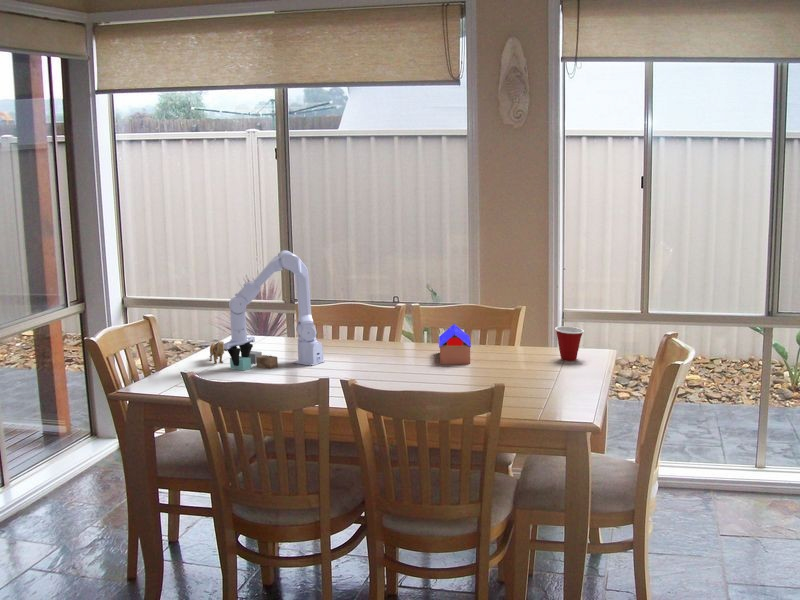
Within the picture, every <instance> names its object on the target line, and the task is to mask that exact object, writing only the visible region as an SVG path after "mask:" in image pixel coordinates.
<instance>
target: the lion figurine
mask: <svg viewBox="0 0 800 600" xmlns="http://www.w3.org/2000/svg"><path fill="white" fill-rule="evenodd" d="M224 344H225V342H224V341H218V342H216V343H212V344H210V347H209V362H213V365H218V359H219V363H220V364H224V361H223V360H222V359H223V355H224V354H225V352H228V351H227V349H224Z"/></svg>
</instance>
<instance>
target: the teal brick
mask: <svg viewBox="0 0 800 600" xmlns="http://www.w3.org/2000/svg"><path fill="white" fill-rule="evenodd" d="M229 365H230V369H232V370H236V371H237V370H239V371H243V372H244V371H247V370H250V369H252V363H251V358H247V357H241V355H239V366H235V365H234V364H233V361H232V358H231V357H230V358H229Z"/></svg>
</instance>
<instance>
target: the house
mask: <svg viewBox="0 0 800 600" xmlns="http://www.w3.org/2000/svg"><path fill="white" fill-rule="evenodd" d="M438 348H439V360H440V361H439V364H440V365H462V364H463V365H464V364H465V365H468V364H469V365H470V364H471V348H472V345H471V339H470V335H468V334H467V333H466V332H465V331H464V330H463V329H461V328H460V327H459V326H458V325H456V324H455V323H454V324H452V325H451V326H450V327H449V328H448V329H446V330H445V331H444V332H443V333H441V335H440V336H439V337H438Z"/></svg>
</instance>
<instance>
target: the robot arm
mask: <svg viewBox="0 0 800 600" xmlns="http://www.w3.org/2000/svg"><path fill="white" fill-rule="evenodd" d="M283 268H284V269H286V270H287V271H290V272H292V273H293V274H294V275H295V283H296V297H297V310H298V316H297V317H298V318H297V324H296V333H297V334H298V337H297V339H296V340H297V341H296V343H297V360H294V361H293V364H298V365H306V366H311V365H312V366H316V365H318V364H322V363H325V361H326V360H324V346H323V343H322V342H321V341H318V340H317V329H316V327H315V325H314V319H313V316H312V305H311V303H312V302H311V290H310V289H311V288H310V279H309V278H310V277H309V275H310V273H309V269H308V267H307V266H306V265H305V263H304V262H303V261H302V260H301V258H300V257H299V256H298V255H296V254H295V253H293V252H291V251H289V250H286V249H283V250H281V251H279V252H278V254H277V255H276V256H274V257H272V258H271V260H270V261H269V263H267V264H266V266H265V267H264V268H263V269H262V270H261V272H260V273H259V274H258V275H257V276H256V278H255V279H254V280H253V281H248V282H247V283H246V282H245V283H243V286H242V288H241V289H240V290H239V291H238V292H236V293H234V297H232V298H230V300H229V303H228V308H229V309H230V313H229V315H230V319H229V321H230V334H231V339H230V341H228V342H224V349H227V351H226V352H227V353H228V354H229V356H230V358H232V361H233V364H234V365H235V366H239V356H242V357H247V358H249V354H250V351H252V348H254V346H253V343H256V338H255V337H254V336H248V334H247V318H246V317H247V316H246V310H247V305H249V304H251V302H253V300H254V299H255V298H256V296H258V294H260V293H261V287H262V285H264V283H266V281H267V280H269V278H271V277H272V276H273V274H274V273H277V272H281V271H284V269H283Z"/></svg>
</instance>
